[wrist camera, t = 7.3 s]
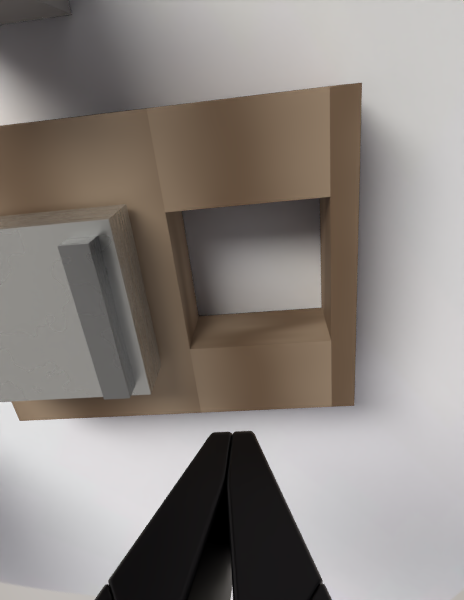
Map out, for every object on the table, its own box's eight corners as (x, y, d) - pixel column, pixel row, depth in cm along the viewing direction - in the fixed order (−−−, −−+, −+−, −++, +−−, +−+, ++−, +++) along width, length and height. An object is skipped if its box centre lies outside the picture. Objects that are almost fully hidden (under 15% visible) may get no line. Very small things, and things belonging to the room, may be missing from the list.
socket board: (344, 84, 16) (361, 83, 13) (342, 366, 22) (354, 405, 19) (-46, 131, 18) (-101, 138, 15) (47, 382, 23) (19, 420, 21)
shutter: (126, 203, 15) (100, 226, 13) (161, 364, 18) (145, 408, 16) (-54, 221, 16) (-113, 245, 13) (9, 373, 19) (-29, 416, 16)
